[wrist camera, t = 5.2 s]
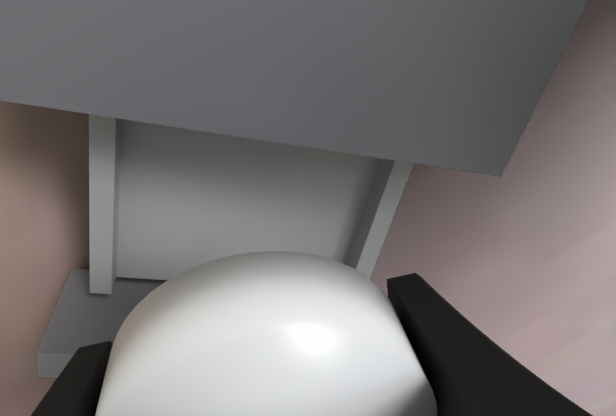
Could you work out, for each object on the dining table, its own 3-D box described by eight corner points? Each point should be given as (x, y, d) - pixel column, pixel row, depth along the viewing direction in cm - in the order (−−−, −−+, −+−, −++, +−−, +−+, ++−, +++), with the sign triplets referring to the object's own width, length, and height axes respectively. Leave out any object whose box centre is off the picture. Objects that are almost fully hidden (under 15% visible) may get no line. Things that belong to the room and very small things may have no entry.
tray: (479, -17, 13) (560, 3, 10) (351, 319, 19) (376, 394, 16) (59, -133, 10) (-9, -157, 7) (72, 305, 16) (39, 393, 13)
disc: (404, 415, 11) (435, 496, 9) (164, 475, 10) (156, 569, 9) (395, 219, 8) (439, 291, 6) (54, 294, 7) (12, 391, 6)
